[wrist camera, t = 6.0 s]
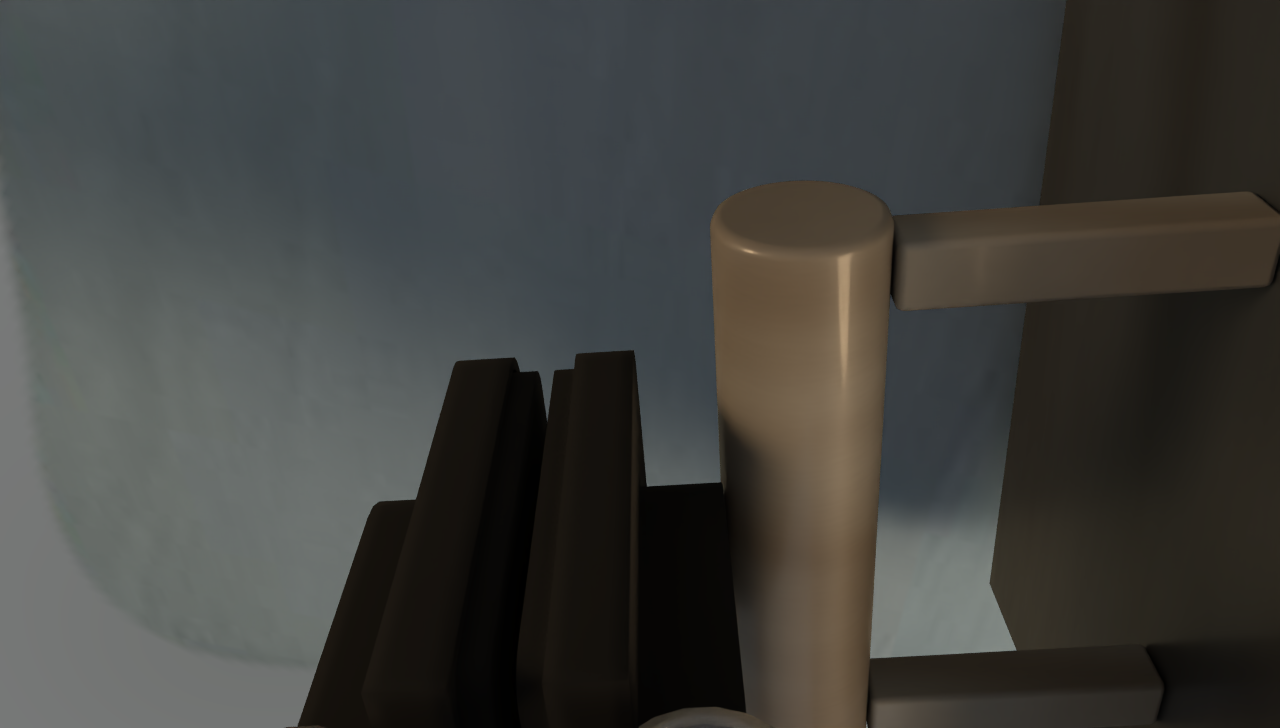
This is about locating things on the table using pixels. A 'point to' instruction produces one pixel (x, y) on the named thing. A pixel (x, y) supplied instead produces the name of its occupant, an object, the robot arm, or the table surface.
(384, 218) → the table surface
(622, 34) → the table surface
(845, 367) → the drawer
